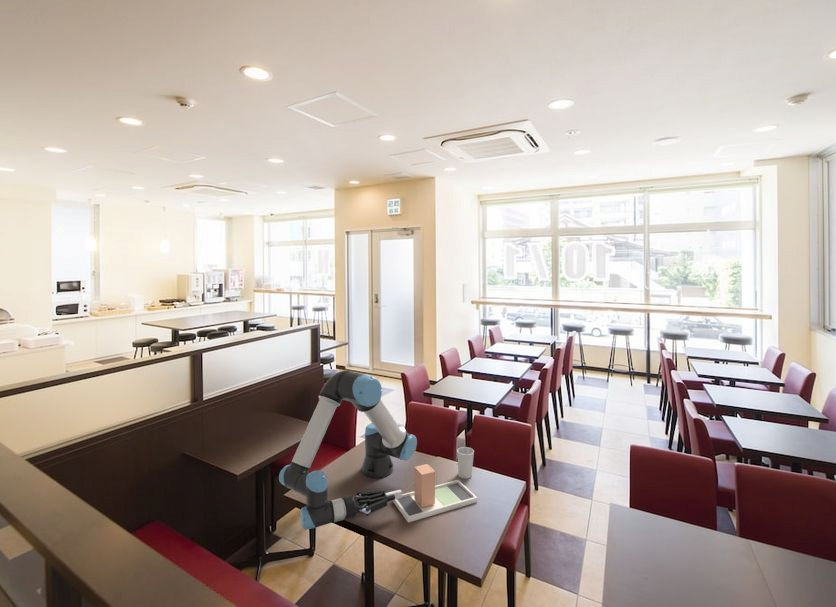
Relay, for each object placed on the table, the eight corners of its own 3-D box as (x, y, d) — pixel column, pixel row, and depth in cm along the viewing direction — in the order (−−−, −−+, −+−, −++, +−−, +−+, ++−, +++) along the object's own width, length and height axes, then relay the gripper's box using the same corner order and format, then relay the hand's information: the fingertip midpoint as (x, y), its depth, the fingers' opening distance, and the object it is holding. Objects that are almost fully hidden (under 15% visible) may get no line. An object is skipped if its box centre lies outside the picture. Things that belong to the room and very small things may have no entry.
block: (414, 498, 170) (414, 466, 169) (427, 495, 173) (427, 463, 172) (421, 507, 164) (421, 474, 163) (434, 503, 167) (435, 471, 165)
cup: (460, 469, 198) (460, 445, 196) (475, 473, 194) (476, 449, 193) (454, 477, 191) (454, 452, 189) (470, 481, 187) (470, 456, 186)
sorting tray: (392, 501, 171) (392, 496, 171) (458, 483, 185) (458, 479, 184) (408, 522, 157) (408, 517, 157) (477, 501, 171) (477, 497, 170)
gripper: (339, 508, 159) (395, 494, 169) (348, 528, 147) (407, 511, 157) (338, 490, 158) (395, 476, 168) (348, 508, 146) (407, 493, 156)
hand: (401, 493), depth 163 cm, fingers closed
